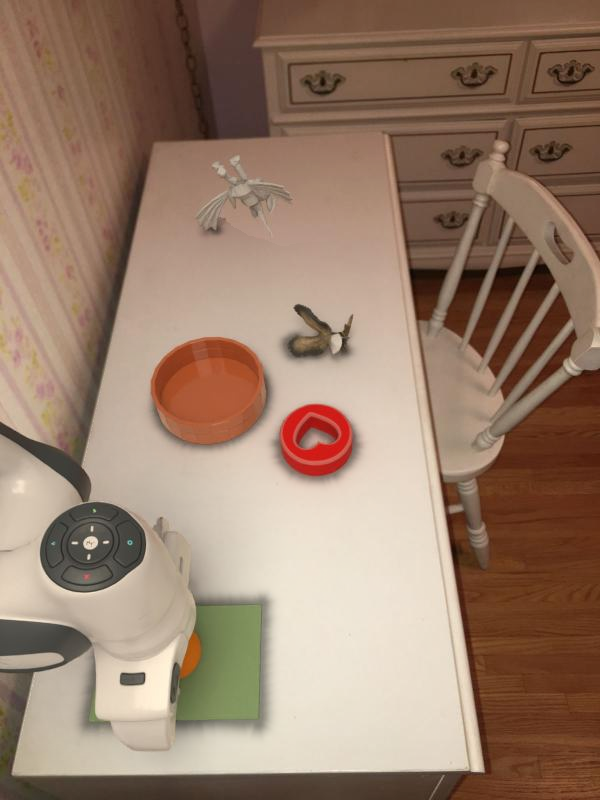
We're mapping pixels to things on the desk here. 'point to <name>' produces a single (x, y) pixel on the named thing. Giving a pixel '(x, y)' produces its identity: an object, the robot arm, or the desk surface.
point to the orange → (191, 655)
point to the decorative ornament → (321, 455)
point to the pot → (209, 390)
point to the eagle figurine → (323, 340)
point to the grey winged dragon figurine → (242, 195)
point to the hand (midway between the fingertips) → (176, 654)
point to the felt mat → (221, 666)
